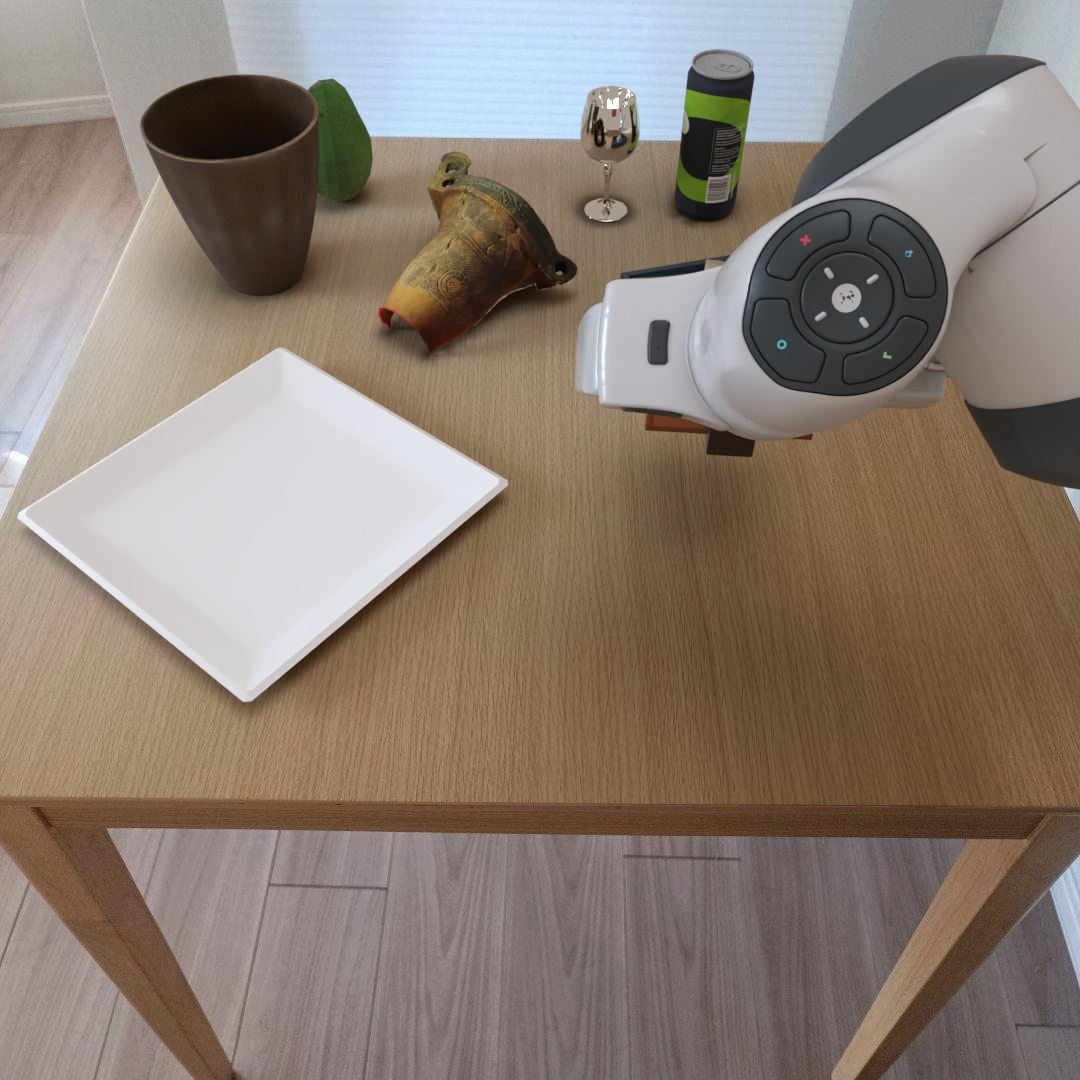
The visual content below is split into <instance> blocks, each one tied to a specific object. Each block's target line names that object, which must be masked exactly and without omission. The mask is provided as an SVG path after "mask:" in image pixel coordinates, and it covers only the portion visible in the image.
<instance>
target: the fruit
mask: <svg viewBox="0 0 1080 1080" xmlns="http://www.w3.org/2000/svg"><path fill="white" fill-rule="evenodd" d="M307 90H308V91H309V92H310V93H311V94H312V95H313V97H314V98H315V99H316V101H317V104H318V108H319V174H318V190H317V195H318V196H320V197H322V198H324V199H326V200H330V201H334V202H340V203H341V202H345V201H350V200H353V199H354V198H355V197H356V196H358V195H359V194H360V193H361V192H362V190H363V189H364V188H365V186H366V184H367V182H368V180H369V178H370V176H371V173H372V167H373V160H374V156H373V155H374V154H373V145H372V138H371V136H370V133H369V131H368V128H367V126H366V124H365V122H364V120H363V118H362V117H361V115H360V113H359V111H358V109H357V107H356V105H355V103H354V100H353V99H352V97H351V96H350V94H349V92H348V90H347V88H346V87H345V86H344V85H342V84H341V83H340V82H339V81H338V80H336V79H334V78H327V79H318V80H317V81H315V82H314V83H313V84H312V85H311V86H310V87H309V88H308V89H307Z"/></svg>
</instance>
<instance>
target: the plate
mask: <svg viewBox="0 0 1080 1080" xmlns="http://www.w3.org/2000/svg"><path fill="white" fill-rule="evenodd" d="M508 486H509V482H508V480H507V479H506V478H504V477H503V476H501V475H500V474H497V473H496V472H495V471H492V469H490V468H487V467H486V466H485V465H483V464H481V463H479V462H478V461H476V460H474V459H473V458H471V457H470V456H467V454H464V453H462V452H460V451H459V450H457V449H456V448H454V447H453V446H450V445H449V444H447V443H445V442H443V441H442V440H440V439H439V438H437V437H435V436H434V435H432V434H431V433H429V432H427V431H425V430H424V429H422V428H421V427H418V426H417V425H415V424H413V423H412V422H410V421H408V420H406V419H405V418H403V417H401V416H400V415H398V414H396V413H395V412H393V411H392V410H390V409H389V408H387V407H385V406H383V405H381V404H380V403H378V402H376V401H375V400H373V399H371V398H370V397H368V396H366V395H365V394H363V393H362V392H359V390H356V389H354V388H353V387H352V386H349V385H348V384H346V383H345V382H343V381H341V380H340V379H338V378H336V377H335V376H333V375H331V374H329V373H328V372H326V371H324V370H322V369H321V368H320V367H317V366H316V365H314V364H313V363H311V362H309V361H307V360H306V359H304V358H302V357H301V356H300V355H297V354H296V353H294V352H292V351H291V350H289V349H287V348H286V347H277V348H275V349H274V350H272V351H271V352H269V353H267V354H266V355H264V356H263V357H261V358H259V359H258V360H257V361H255V362H253V363H252V364H250V365H248V366H247V367H246V368H244V369H242V370H240V371H239V372H237V373H236V374H234V375H233V376H231V377H230V378H228V379H226V380H225V381H224V382H222V383H220V384H218V385H217V386H215V387H214V388H212V389H211V390H209V391H208V392H206V393H205V394H202V395H201V396H200V397H198V398H197V399H195V400H193V401H192V402H190V403H188V404H187V405H186V406H184V407H183V408H181V409H180V410H178V411H176V412H175V413H173V414H172V415H170V416H168V417H166V418H165V419H163V420H162V421H160V422H159V423H157V424H156V425H154V426H153V427H151V428H149V429H148V430H146V431H145V432H143V433H142V434H140V435H139V436H137V437H135V438H134V439H132V440H131V441H129V442H128V443H126V444H124V445H123V446H121V447H120V448H118V449H116V450H115V451H113V452H112V453H110V454H109V455H106V456H105V457H104V458H102V459H101V460H99V461H98V462H96V463H95V464H93V465H91V466H90V467H88V468H86V469H85V470H83V471H82V472H81V473H79V474H77V475H76V476H74V477H72V478H71V479H69V480H67V481H66V482H64V483H63V484H61V485H60V486H58V487H56V488H55V489H53V490H52V491H49V493H47V494H46V495H44V496H42V497H41V498H39V499H37V500H36V501H35V502H33V503H32V504H30V505H29V506H27V507H25V508H24V509H22V510H20V511H19V512H18V514H17V517H16V518H17V520H19V521H20V522H21V523H23V524H24V525H25V526H26V527H27V528H29V529H30V530H31V531H32V532H34V533H35V534H36V535H38V536H39V537H40V538H41V539H42V540H44V541H45V542H46V543H47V544H49V546H51V547H52V548H54V550H56V551H57V552H58V553H60V554H61V555H62V556H63V557H64V558H66V559H67V560H68V561H70V562H71V563H72V564H73V565H74V566H76V567H77V569H79V570H81V571H82V572H83V573H84V574H85V575H87V576H88V577H89V578H90V579H92V580H93V582H95V583H97V585H99V586H100V587H101V588H102V589H104V590H105V591H106V592H108V594H110V595H111V596H113V598H115V599H116V600H118V602H120V603H121V604H122V605H123V606H124V607H125V608H127V609H128V610H130V611H131V612H132V613H133V614H134V615H135V616H137V617H138V618H139V619H141V620H142V622H144V623H145V624H147V625H148V626H149V627H151V628H152V629H153V630H154V631H155V632H156V633H158V634H159V635H160V636H161V637H163V639H165V640H166V641H167V642H169V643H170V644H171V645H172V646H174V647H175V648H176V649H178V650H179V651H180V652H181V653H182V654H184V655H185V656H186V657H187V658H188V659H190V660H191V661H192V662H193V663H195V665H197V666H198V667H200V668H201V669H202V670H203V671H204V672H205V673H206V674H208V675H209V676H211V678H213V679H214V680H215V681H217V682H218V683H219V684H220V685H222V687H224V688H225V689H227V690H228V691H229V692H230V693H232V694H233V695H234V696H235V697H236V698H237V699H238V700H240V701H241V702H242V703H248V702H253V701H254V700H255V699H256V698H258V697H259V696H260V695H261V694H262V693H263V692H264V691H266V690H267V689H268V688H269V687H271V686H272V685H273V684H274V683H275V682H276V681H277V680H280V678H281V677H282V676H284V675H285V674H286V673H287V672H288V671H289V670H291V669H292V668H293V667H294V666H295V665H297V664H298V663H299V662H300V661H301V660H302V659H304V658H305V657H306V656H307V655H309V653H311V652H312V651H313V650H314V649H316V648H317V647H318V646H319V645H320V644H322V642H324V641H325V640H326V639H327V638H329V637H330V636H331V635H332V634H333V633H335V632H336V631H337V630H338V629H339V628H340V627H342V626H343V625H344V624H346V622H348V621H349V620H350V619H351V618H352V617H354V616H355V615H356V614H357V613H358V612H360V611H361V610H362V609H363V608H364V607H365V606H367V605H368V604H369V603H370V602H371V601H373V600H374V599H375V598H376V597H377V596H379V595H380V594H381V593H382V592H383V591H384V590H386V589H387V588H388V587H389V586H390V585H391V584H393V583H394V582H395V581H396V580H398V579H399V578H400V577H401V576H402V575H404V573H406V572H407V571H409V569H411V568H412V567H413V566H414V565H415V564H417V563H418V562H419V561H420V560H421V559H422V558H423V557H425V556H426V555H427V554H428V553H430V552H431V551H433V549H435V548H436V547H437V546H438V545H439V544H440V543H442V542H443V541H444V540H445V539H446V538H448V537H449V536H450V535H451V534H452V533H453V532H455V531H456V530H457V529H458V528H459V527H460V526H462V525H463V524H464V523H465V522H467V521H468V520H469V519H470V518H471V517H472V516H474V514H476V513H477V512H478V511H480V510H481V509H482V508H483V507H484V506H485V505H487V504H488V503H489V502H490V501H491V500H493V499H494V498H495V497H496V496H497V495H499V494H500V493H501V492H502V491H504V489H505V488H507V487H508Z"/></svg>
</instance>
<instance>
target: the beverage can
mask: <svg viewBox="0 0 1080 1080" xmlns="http://www.w3.org/2000/svg"><path fill="white" fill-rule="evenodd" d="M753 69H754V62H753V60H752V59H751V58H750V57H749V56H748V55H746V54H744V53H743V52H739V51H736V50H731V49H723V48H715V49H708V50H704V51H701V52H698V53H697V54H695V55H694V56H693V58H692V59H691V66H690V68H689V69H688V71H687V77H686V87H685V95H684V96H685V97H684V103H683V104H684V105H683V114H682V123H681V132H680V133H681V134H680V141H679V142H680V144H679V153H678V162H677V169H676V170H677V171H676V179H675V180H676V181H675V190H674V202H675V204H676V205H677V207H678V208H679V210H680V211H681V213H682V214H684V215H686V216H687V217H689V218H692V219H696V220H701V221H712V220H713V221H714V220H718V219H721V218H723V217H724V216H726V215H727V214H728V213H729V212H730V211H732V209H734V207H735V205H736V201H737V194H738V189H739V188H738V187H739V181H740V175H741V168H742V161H743V154H744V150H745V149H744V148H745V142H746V136H747V130H748V123H749V116H750V110H751V103H752V96H753V91H754V84H755V72H754V70H753Z"/></svg>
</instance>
